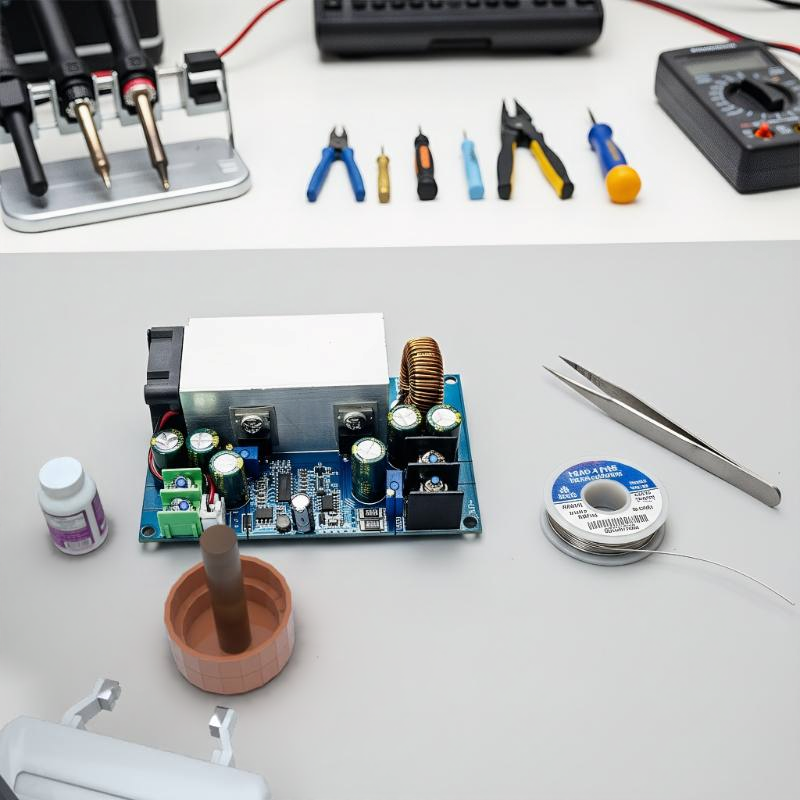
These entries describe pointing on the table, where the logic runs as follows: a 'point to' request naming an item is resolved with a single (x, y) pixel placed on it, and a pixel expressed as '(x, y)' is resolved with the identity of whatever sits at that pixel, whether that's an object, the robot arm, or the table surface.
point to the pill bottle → (71, 506)
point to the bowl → (198, 635)
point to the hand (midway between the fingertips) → (168, 696)
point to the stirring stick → (226, 587)
